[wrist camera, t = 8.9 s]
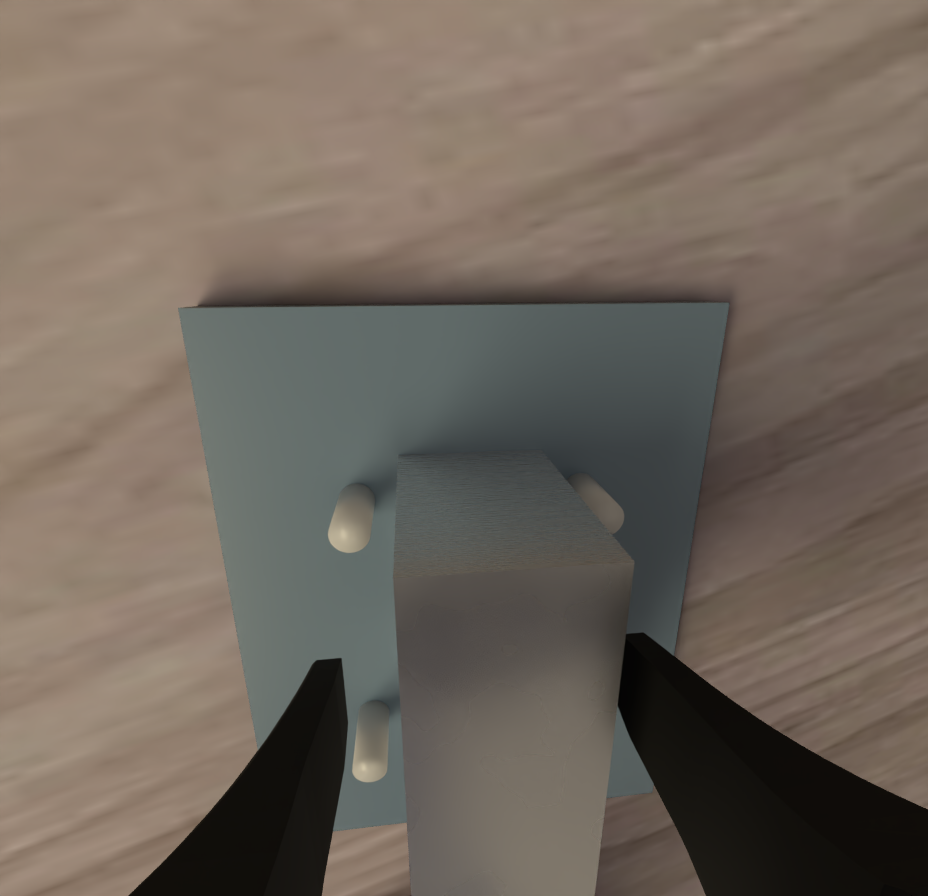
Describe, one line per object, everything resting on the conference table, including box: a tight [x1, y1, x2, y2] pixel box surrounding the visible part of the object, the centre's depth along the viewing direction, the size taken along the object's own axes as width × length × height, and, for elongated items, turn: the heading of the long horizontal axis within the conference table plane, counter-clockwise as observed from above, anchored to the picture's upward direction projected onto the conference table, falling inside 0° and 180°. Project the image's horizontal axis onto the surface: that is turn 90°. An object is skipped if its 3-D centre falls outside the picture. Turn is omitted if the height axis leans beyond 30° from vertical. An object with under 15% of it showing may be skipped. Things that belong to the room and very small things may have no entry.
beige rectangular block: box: [393, 449, 635, 896], centre depth 12 cm, size 10×4×6 cm, turn 0°
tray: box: [178, 302, 729, 831], centre depth 15 cm, size 18×14×3 cm
